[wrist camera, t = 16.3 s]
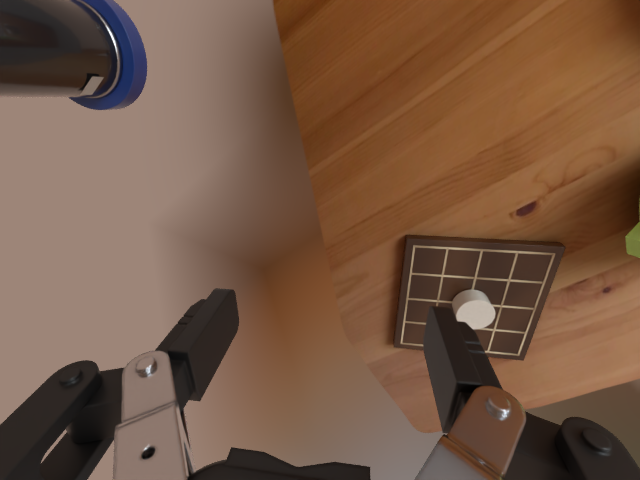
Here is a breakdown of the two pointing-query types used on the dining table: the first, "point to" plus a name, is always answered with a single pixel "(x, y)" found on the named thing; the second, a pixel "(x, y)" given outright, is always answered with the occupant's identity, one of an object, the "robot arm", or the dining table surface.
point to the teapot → (634, 239)
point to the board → (477, 287)
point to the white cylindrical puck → (473, 309)
